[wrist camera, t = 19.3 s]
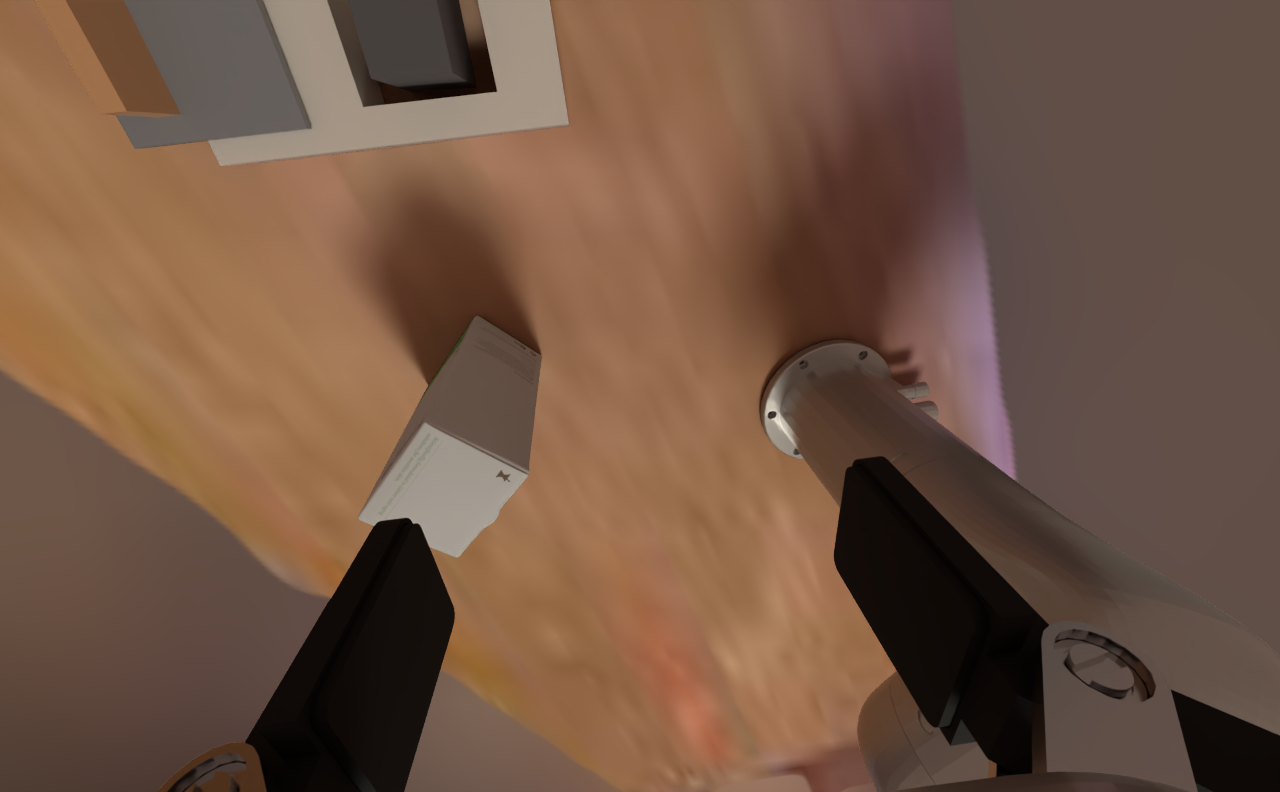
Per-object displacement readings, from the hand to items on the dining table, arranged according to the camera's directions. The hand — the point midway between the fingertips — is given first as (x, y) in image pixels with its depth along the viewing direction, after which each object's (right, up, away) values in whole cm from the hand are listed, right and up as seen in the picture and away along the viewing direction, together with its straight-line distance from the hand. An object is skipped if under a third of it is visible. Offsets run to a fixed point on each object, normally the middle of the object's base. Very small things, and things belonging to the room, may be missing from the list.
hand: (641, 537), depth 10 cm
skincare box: (-13, +5, +29) cm, 32 cm away
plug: (-13, +25, +18) cm, 33 cm away
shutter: (-23, +22, +13) cm, 35 cm away
